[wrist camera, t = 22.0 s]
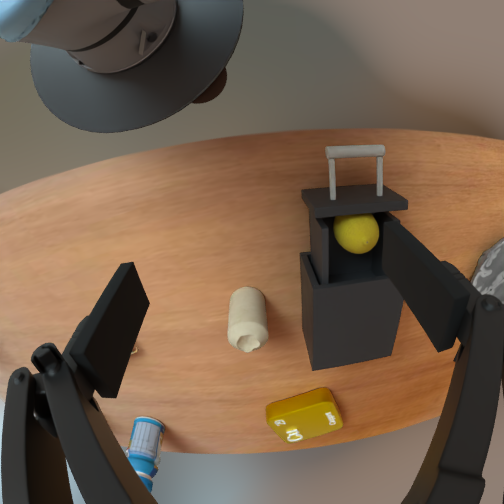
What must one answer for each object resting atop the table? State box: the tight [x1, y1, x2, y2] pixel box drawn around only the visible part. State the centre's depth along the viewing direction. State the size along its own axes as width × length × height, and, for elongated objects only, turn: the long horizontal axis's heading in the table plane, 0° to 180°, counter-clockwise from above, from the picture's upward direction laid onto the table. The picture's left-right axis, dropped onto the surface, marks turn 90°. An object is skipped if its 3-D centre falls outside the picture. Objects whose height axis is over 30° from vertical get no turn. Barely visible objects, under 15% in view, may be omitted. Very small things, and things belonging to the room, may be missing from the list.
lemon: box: [333, 213, 379, 254], centre depth 35 cm, size 6×6×8 cm
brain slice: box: [471, 237, 504, 304], centre depth 46 cm, size 20×17×3 cm
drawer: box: [301, 145, 408, 285], centre depth 36 cm, size 20×12×8 cm, turn 7°
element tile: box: [266, 388, 343, 443], centre depth 60 cm, size 15×15×5 cm
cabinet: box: [300, 252, 404, 371], centre depth 42 cm, size 15×13×10 cm
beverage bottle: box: [126, 416, 165, 493], centre depth 55 cm, size 8×8×20 cm
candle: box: [228, 287, 268, 353], centre depth 43 cm, size 6×6×10 cm
